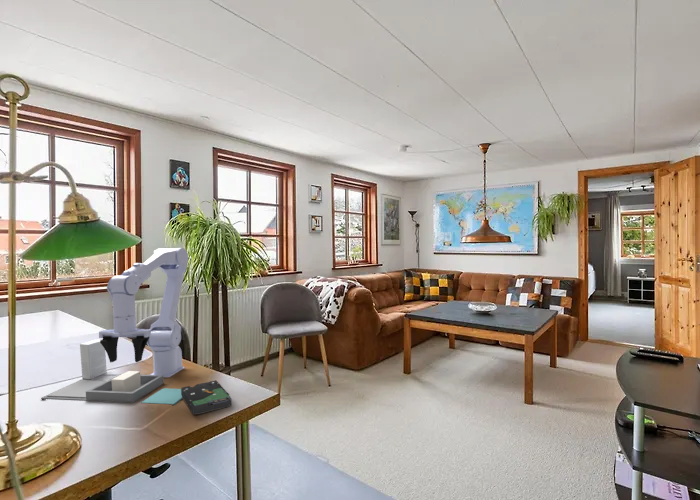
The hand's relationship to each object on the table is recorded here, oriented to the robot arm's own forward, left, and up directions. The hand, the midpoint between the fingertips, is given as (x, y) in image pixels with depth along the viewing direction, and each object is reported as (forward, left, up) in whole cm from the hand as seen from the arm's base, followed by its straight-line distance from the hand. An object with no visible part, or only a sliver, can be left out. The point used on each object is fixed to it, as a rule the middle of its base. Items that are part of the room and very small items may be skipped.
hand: (125, 361), depth 113 cm
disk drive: (+2, +26, -11) cm, 28 cm away
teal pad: (0, +13, -11) cm, 17 cm away
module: (-2, -2, -10) cm, 11 cm away
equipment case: (-2, -10, -11) cm, 15 cm away
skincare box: (-14, -24, -11) cm, 30 cm away
